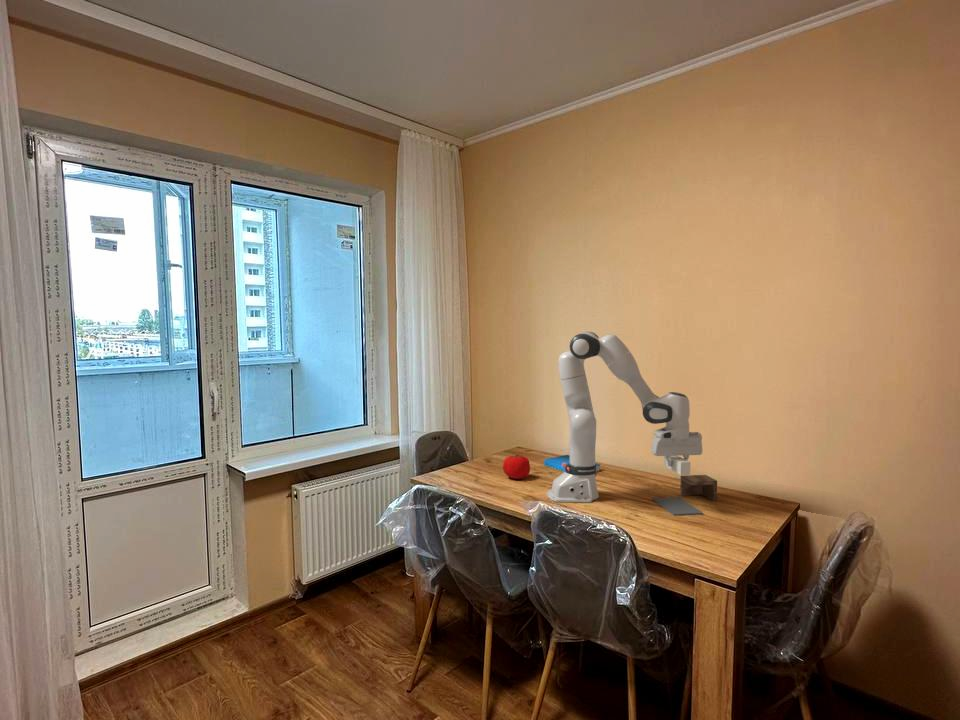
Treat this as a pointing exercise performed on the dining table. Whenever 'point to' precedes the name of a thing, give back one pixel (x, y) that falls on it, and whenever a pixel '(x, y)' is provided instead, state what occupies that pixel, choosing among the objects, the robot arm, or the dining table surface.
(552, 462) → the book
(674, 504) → the mat
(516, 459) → the tomato
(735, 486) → the dining table surface
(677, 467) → the block
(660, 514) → the dining table surface
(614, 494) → the dining table surface
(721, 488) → the dining table surface
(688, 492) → the brown box
